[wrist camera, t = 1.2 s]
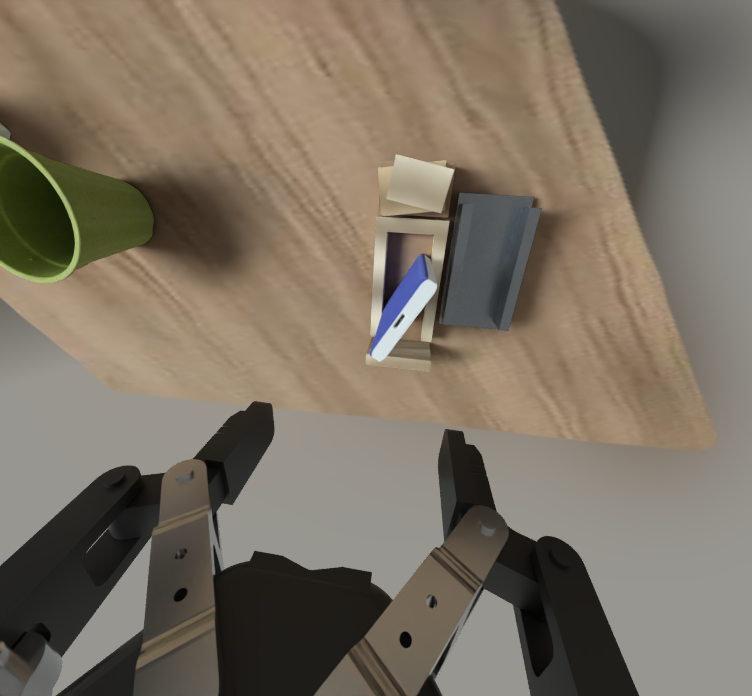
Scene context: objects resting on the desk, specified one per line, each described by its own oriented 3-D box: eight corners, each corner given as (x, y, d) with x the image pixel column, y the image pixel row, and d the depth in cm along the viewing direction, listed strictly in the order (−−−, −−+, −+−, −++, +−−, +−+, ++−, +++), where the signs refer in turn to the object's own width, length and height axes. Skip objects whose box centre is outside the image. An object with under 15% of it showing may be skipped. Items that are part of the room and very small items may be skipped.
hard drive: (381, 309, 36) (366, 354, 25) (420, 252, 33) (423, 274, 22) (392, 316, 37) (382, 363, 26) (432, 260, 33) (440, 286, 22)
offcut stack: (383, 162, 30) (376, 153, 25) (453, 166, 29) (461, 157, 24) (380, 214, 32) (373, 216, 27) (445, 219, 31) (451, 221, 26)
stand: (458, 193, 30) (464, 191, 27) (531, 197, 29) (546, 195, 26) (438, 321, 36) (440, 332, 33) (498, 326, 36) (506, 339, 32)
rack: (378, 215, 32) (372, 217, 27) (447, 220, 31) (452, 222, 27) (371, 346, 39) (365, 364, 34) (427, 352, 38) (429, 371, 34)
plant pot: (192, 214, 34) (99, 217, 24) (148, 282, 39) (55, 308, 29) (100, 126, 31) (-49, 88, 21) (65, 210, 36) (-72, 211, 26)
